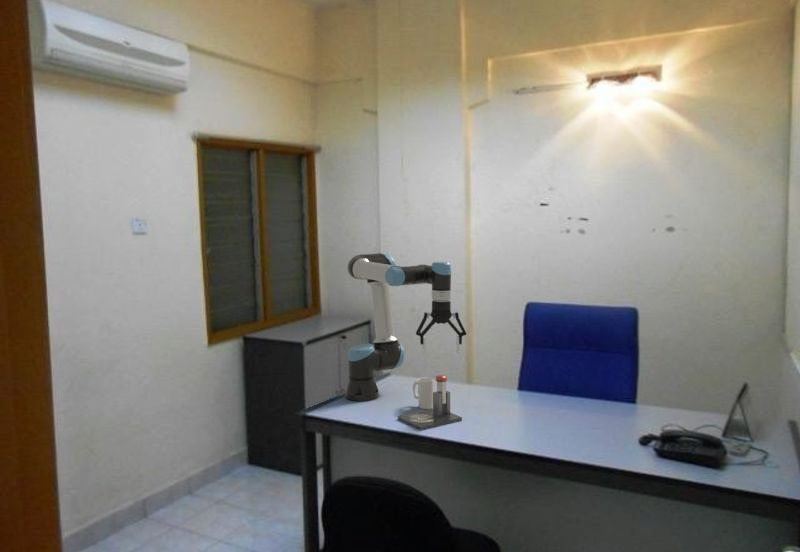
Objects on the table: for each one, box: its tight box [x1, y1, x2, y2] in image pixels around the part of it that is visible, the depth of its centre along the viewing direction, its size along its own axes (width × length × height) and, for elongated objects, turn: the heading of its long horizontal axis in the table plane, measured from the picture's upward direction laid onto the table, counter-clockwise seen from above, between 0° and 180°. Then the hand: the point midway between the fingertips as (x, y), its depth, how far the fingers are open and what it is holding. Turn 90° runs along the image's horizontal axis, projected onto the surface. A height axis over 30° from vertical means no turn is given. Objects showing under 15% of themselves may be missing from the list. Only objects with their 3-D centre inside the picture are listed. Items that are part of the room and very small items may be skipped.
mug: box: [412, 376, 435, 410], centre depth 257 cm, size 10×7×12 cm, turn 54°
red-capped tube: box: [435, 374, 448, 404], centre depth 243 cm, size 4×4×11 cm
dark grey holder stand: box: [397, 390, 463, 431], centre depth 240 cm, size 16×20×10 cm
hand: (440, 352), depth 244 cm, fingers open, 13 cm apart
